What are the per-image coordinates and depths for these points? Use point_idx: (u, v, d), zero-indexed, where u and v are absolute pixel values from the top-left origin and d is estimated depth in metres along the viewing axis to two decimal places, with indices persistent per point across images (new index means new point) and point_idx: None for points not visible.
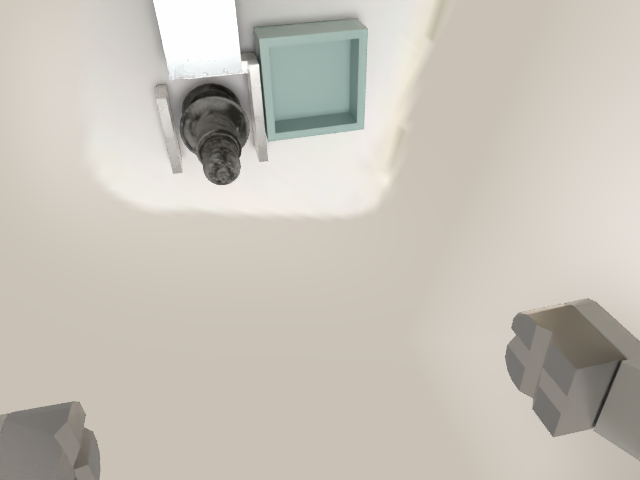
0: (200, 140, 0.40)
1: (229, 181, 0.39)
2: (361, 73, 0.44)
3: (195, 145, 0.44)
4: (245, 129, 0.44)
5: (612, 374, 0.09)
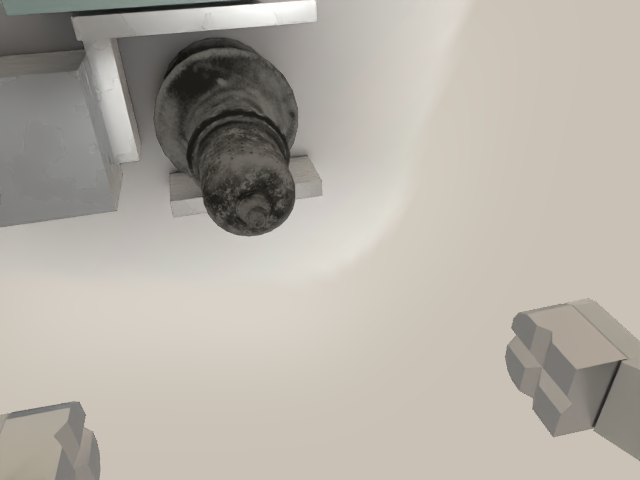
0: None
1: (281, 189, 0.15)
2: None
3: None
4: (228, 58, 0.20)
5: (612, 374, 0.09)
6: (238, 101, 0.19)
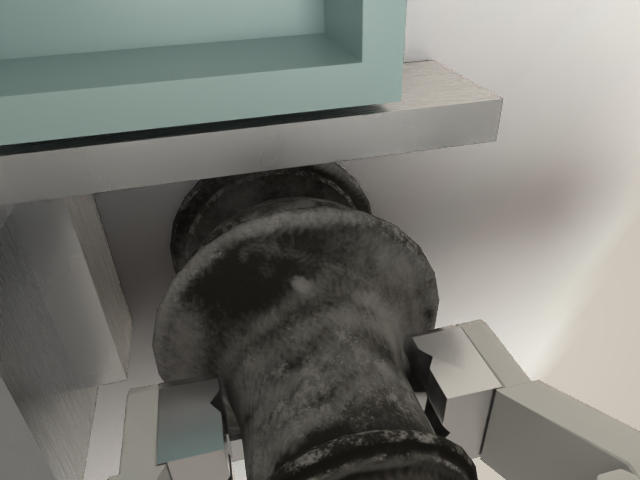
0: None
1: None
2: None
3: None
4: (315, 230, 0.09)
5: (488, 402, 0.08)
6: (347, 350, 0.08)
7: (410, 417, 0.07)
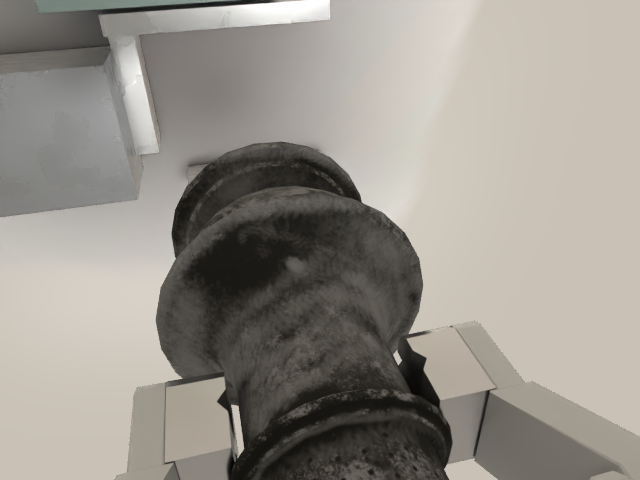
0: None
1: None
2: None
3: None
4: (308, 214, 0.10)
5: (482, 404, 0.08)
6: (336, 323, 0.09)
7: (392, 382, 0.08)
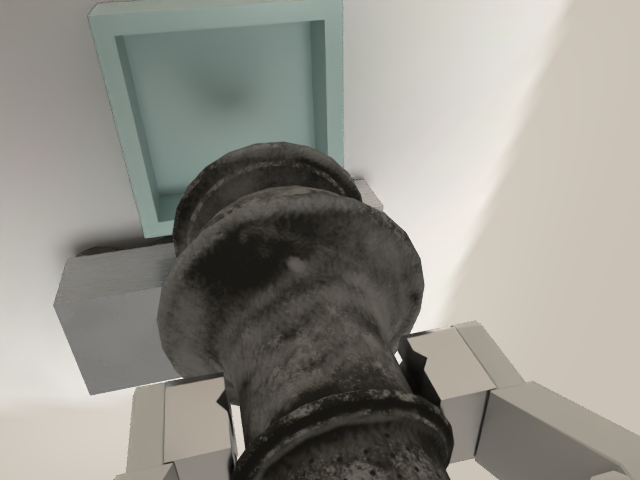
0: None
1: None
2: (199, 20, 0.18)
3: None
4: (310, 215, 0.10)
5: (482, 404, 0.08)
6: (338, 323, 0.09)
7: (393, 382, 0.08)
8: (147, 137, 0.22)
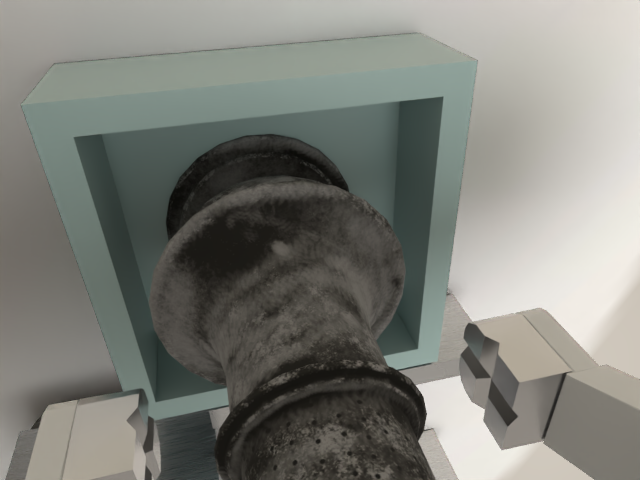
0: None
1: None
2: (228, 106, 0.10)
3: None
4: (294, 201, 0.10)
5: (557, 387, 0.08)
6: (318, 302, 0.09)
7: (369, 356, 0.09)
8: (139, 263, 0.14)
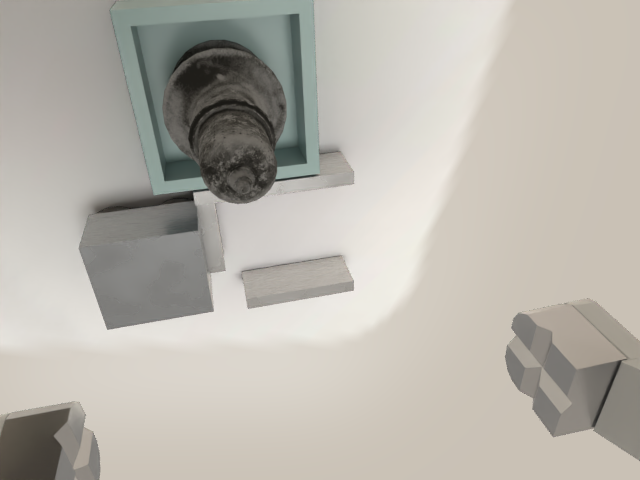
0: None
1: (264, 163, 0.18)
2: (197, 14, 0.23)
3: None
4: (226, 57, 0.23)
5: (612, 374, 0.09)
6: (234, 94, 0.22)
7: None
8: (156, 112, 0.27)
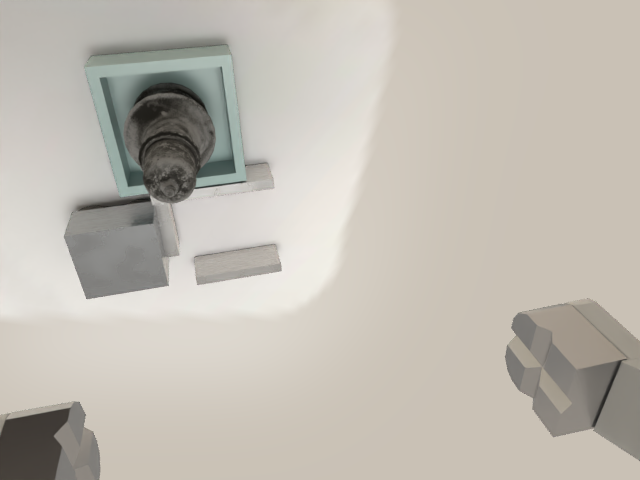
0: None
1: (185, 176, 0.28)
2: (147, 68, 0.32)
3: None
4: (168, 99, 0.32)
5: (612, 374, 0.09)
6: (172, 126, 0.31)
7: None
8: (121, 135, 0.36)
